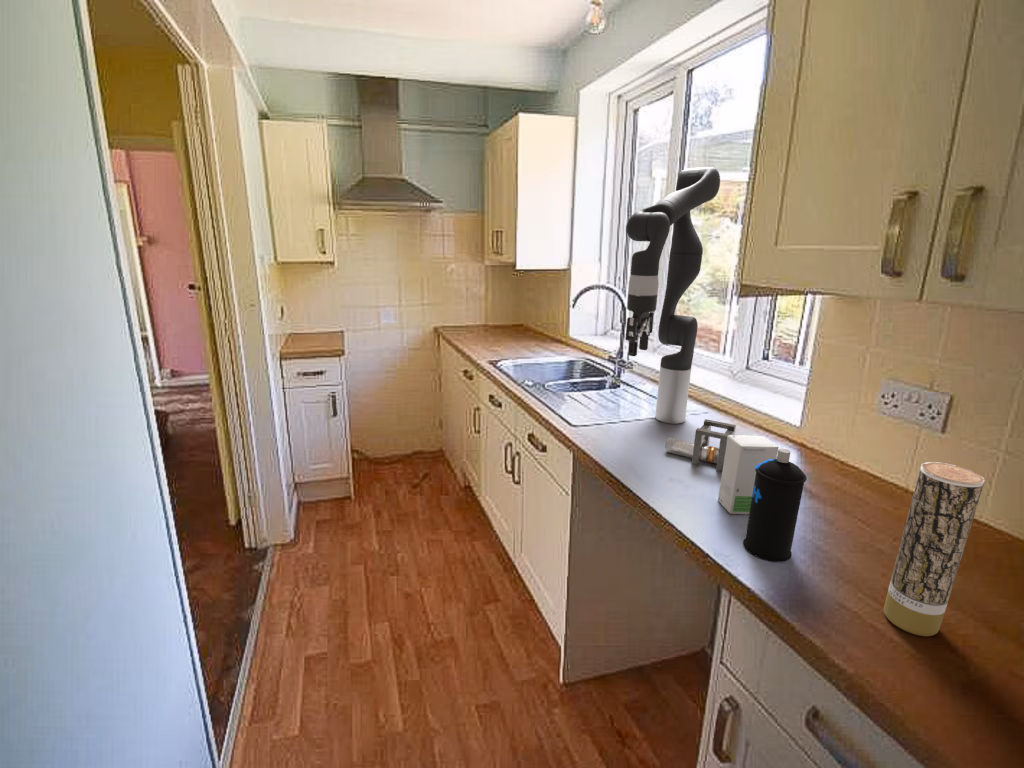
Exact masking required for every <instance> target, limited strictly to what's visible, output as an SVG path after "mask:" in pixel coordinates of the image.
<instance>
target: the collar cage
mask: <svg viewBox="0 0 1024 768" xmlns="http://www.w3.org/2000/svg"><path fill="white" fill-rule="evenodd" d="M712 427H715V428H719V429H724V430H726V431H725V432H718V431H713V430H711V429H712ZM736 428H737V425H736V424H732V423H728V422H727V423H726V422H723V421H717V420H712V419H705V418H704V420H703V425H702V426H701V427H700V428H699V427H697V428H696V429H695V435H694V442H693V443H694V449H693V457H692V458H691V466H696V467H699V466H700V464H701V460H700V457H701V450H702V445H706V446H710V445H709V444H710V438H714V439H719V445H718V446H719V447H718V448H719V453H718V460H717V464H716V467H715V471H716V472H719V473H722V471H723V465H724V458H725V452H726V445H727V436H728V435H735V434H736Z"/></svg>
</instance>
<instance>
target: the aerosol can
mask: <svg viewBox="0 0 1024 768" xmlns="http://www.w3.org/2000/svg"><path fill="white" fill-rule="evenodd" d="M790 456H791V450H789V449H787V448H778V453H777V458H776V459H770V460H766V461H764V462H762V463H760V464H758V465H757V466H756V467H755V471H756V476H755V482H754V488H753V494H752V500H751V507H750V513H749V514H748V520H747V526H746V531H745V532H746V533H745V538H744V539H743V541H742V545H743V547H744V549H745V550H746V552H747V553H749V554H751V555H752V556H754V557H756V558H758V559H760V560H763V561H765V562H766V561H767V562H771V563H784V562H787V561H789V560H790V559H791V557H792V555H793V553H792V546H793V542H794V537H795V532H796V531H795V530H796V528H797V521H798V516H799V510H800V505H801V502H802V497H803V496H802V495H803V490H804V485H805V483H806V481H807V476H806V475H807V474H805V473H804V472H803V470H802V469H801V468H800V467H799V466H798V465H797V464H795V463H794V462H791V461H790V458H791V457H790Z"/></svg>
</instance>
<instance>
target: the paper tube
mask: <svg viewBox="0 0 1024 768" xmlns="http://www.w3.org/2000/svg"><path fill="white" fill-rule="evenodd" d="M915 483H916V484H915V487H914V491H913V495H912V498H911V503H910V506H909V508H908V509H909V510H908V514H907V516H906V521H905V525H904V527H903V533H902V535H901V536H902V537H901V540H900V544H899V548H898V551H897V555H896V559H895V563H894V567H893V570H892V575H891V578H890V581H889V585H888V589H887V590H888V591H887V594H886V598H885V601H884V602H885V603H884V605H883V612H884V614H885V616H886V618H887V620H889V622H891V624H893V625H894V626H895V627H897V628H898V629H901V630H903V631H904V632H907V633H909V634H913V635H915V636H921V637H931V636H934V635H936V634H938V633H939V631H940V629H941V626H942V622H943V620H944V619H943V618H944V615H945V613H946V610H947V606H948V603H949V599H950V596H951V593H952V590H953V587H954V584H955V583H954V582H955V580H956V576H957V573H958V570H959V567H960V563H961V560H962V557H963V554H964V551H965V547H966V543H967V540H968V538H969V533H970V530H971V527H972V524H973V520H974V517H975V515H976V511H977V508H978V505H979V501H980V498H981V495H982V491H983V488H984V485H985V478H984V477H983V476H982V475H980V474H979V473H978V472H976V471H973V470H971V469H968V468H966V467H962V466H960V465H959V466H958V465H955V464H950V463H945V462H939V461H938V462H937V461H929V462H928V461H927V462H922V463H921V465H920V468H919V472H918V475H917V479H916V482H915Z"/></svg>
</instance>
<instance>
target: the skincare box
mask: <svg viewBox="0 0 1024 768" xmlns="http://www.w3.org/2000/svg"><path fill="white" fill-rule="evenodd" d="M778 449H780V447H779V446H778V445H777V444H775V443H774V442H772V441H771V440H770V439H768V438H767V437H765V436H763V435H762V436H761V435H749V434H743V435H728V436H727V445H726V452H725V458H724V465H723V471H722V472H721V478H720V484H719V491H718V497H717V500H718V502H719V503H720V504H721V505H722V506H723V508H724V509H725V510H726V511H727V512H728V513H729V514H730V515H749V513H750V507H751V500H752V494H753V488H754V482H755V476H756V471H755V467H756V466H757V465H758V464H760V463H762V462H764V461H766V460H770V459H777V455H778Z"/></svg>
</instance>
